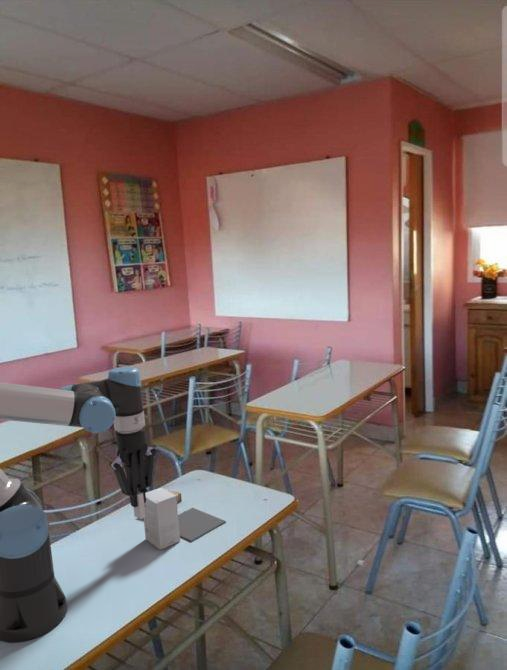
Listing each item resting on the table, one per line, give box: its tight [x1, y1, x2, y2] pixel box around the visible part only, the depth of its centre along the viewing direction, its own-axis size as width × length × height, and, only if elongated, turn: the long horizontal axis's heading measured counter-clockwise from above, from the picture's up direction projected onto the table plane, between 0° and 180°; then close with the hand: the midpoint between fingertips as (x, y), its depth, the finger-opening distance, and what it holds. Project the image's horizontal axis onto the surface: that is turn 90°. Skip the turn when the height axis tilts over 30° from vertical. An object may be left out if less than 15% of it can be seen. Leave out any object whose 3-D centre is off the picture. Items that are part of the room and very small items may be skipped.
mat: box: [178, 507, 227, 543], centre depth 156 cm, size 13×14×1 cm
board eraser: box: [167, 489, 183, 505], centre depth 167 cm, size 12×5×3 cm, turn 148°
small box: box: [143, 487, 181, 551], centre depth 147 cm, size 8×6×13 cm
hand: (140, 516), depth 142 cm, fingers closed
